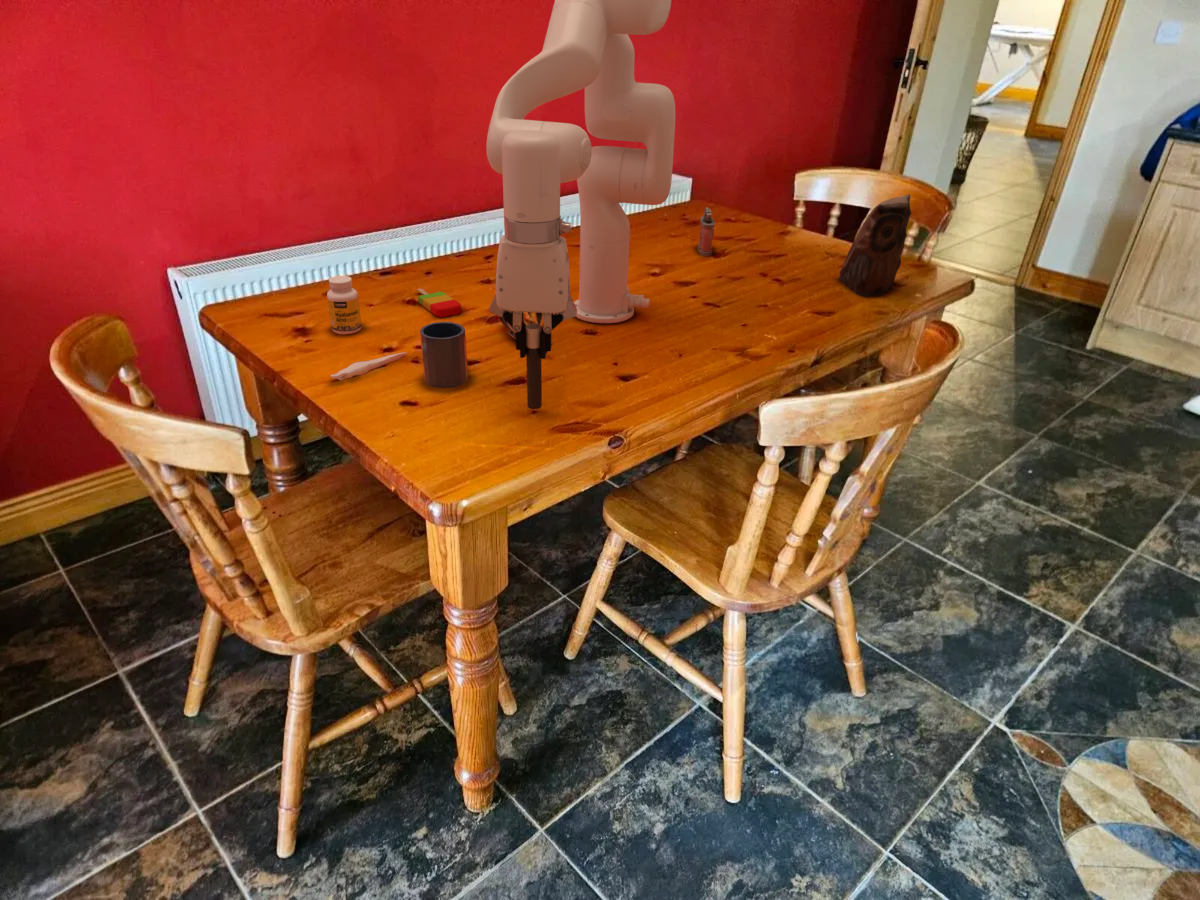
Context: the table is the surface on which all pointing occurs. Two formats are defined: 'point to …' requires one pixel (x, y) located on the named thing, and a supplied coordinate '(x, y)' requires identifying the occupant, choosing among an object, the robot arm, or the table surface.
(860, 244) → the owl
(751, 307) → the table surface
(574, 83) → the robot arm
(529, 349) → the marker pen
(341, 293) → the supplement bottle
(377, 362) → the pale pink tapered rod
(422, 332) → the pen cup
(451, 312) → the popsicle
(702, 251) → the lighter
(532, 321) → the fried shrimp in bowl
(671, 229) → the table surface
